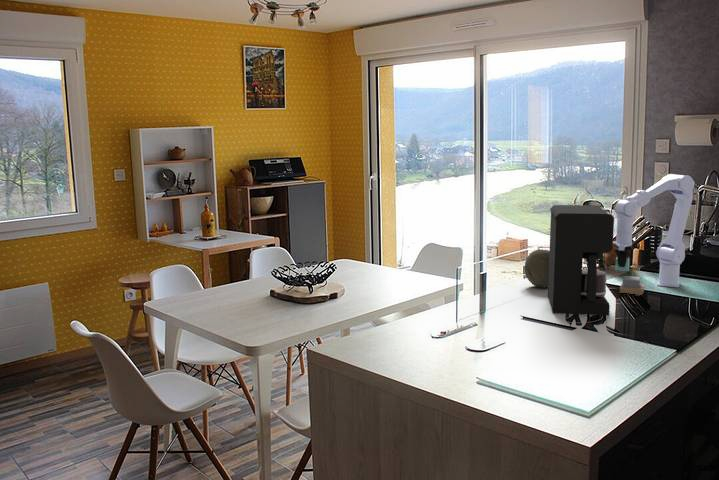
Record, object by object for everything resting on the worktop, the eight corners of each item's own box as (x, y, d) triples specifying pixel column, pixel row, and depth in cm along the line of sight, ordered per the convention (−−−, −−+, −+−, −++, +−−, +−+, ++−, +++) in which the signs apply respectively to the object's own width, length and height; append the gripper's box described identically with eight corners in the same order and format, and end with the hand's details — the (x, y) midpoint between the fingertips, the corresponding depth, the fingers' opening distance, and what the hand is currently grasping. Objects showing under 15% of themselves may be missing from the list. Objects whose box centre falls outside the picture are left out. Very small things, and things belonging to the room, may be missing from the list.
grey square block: (623, 283, 266) (623, 275, 265) (639, 284, 263) (640, 277, 263) (622, 286, 260) (622, 279, 260) (639, 288, 258) (639, 280, 257)
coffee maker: (613, 319, 227) (618, 214, 221) (552, 316, 230) (556, 213, 225) (601, 298, 254) (605, 204, 248) (547, 296, 258) (550, 204, 252)
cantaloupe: (562, 291, 264) (564, 253, 262) (525, 290, 266) (526, 252, 264) (558, 283, 278) (559, 246, 275) (522, 282, 280) (523, 246, 278)
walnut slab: (621, 290, 267) (622, 282, 267) (643, 292, 264) (644, 284, 263) (619, 294, 260) (620, 287, 260) (642, 297, 257) (642, 289, 256)
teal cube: (616, 267, 269) (617, 256, 268) (628, 268, 267) (629, 257, 266) (615, 270, 265) (615, 258, 264) (627, 271, 263) (628, 259, 262)
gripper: (616, 228, 271) (614, 261, 273) (610, 233, 258) (609, 268, 261) (635, 229, 268) (633, 262, 270) (630, 234, 255) (628, 269, 258)
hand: (622, 265), depth 265 cm, fingers closed on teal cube, 4 cm apart
